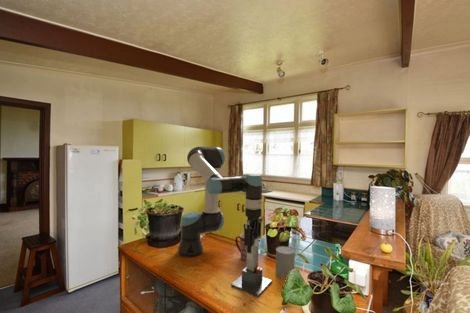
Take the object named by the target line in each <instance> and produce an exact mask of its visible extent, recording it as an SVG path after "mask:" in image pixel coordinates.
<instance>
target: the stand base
mask: <svg viewBox="0 0 470 313" xmlns="http://www.w3.org/2000/svg"><path fill="white" fill-rule="evenodd" d="M272 283H273V280H272V279H269V278H268V277H264V276H263V268H262V267H259V266H258V267H257V268H256V272H255V273H252V272H249V271H246V267H244V268H243V269H242V270H241V276H239V277H238V278H237V279H236V280H235V281H233V282H232V283H231V284H230V286H231V287H232V288H235V289H237V290H239V291H242V292H244V293H247V294H249V295H251V296H254V297H257V298H259V297H260V296H261V295H262V294H263V293H264V292H265V291H266V289H267V288H268V287H269V286H270V285H271V284H272Z"/></svg>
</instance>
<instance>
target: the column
mask: <svg viewBox="0 0 470 313" xmlns="http://www.w3.org/2000/svg"><path fill="white" fill-rule="evenodd" d="M259 240H261V239H260V236H255V235H253V239H252V241H253V242H252V245H253V260H250V259H247V261H246V266H245V268H246V271H249V272H252V273H255V272H256V268H257V267H259V247H260V246H259V243H260V242H259Z"/></svg>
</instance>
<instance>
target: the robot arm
mask: <svg viewBox="0 0 470 313" xmlns="http://www.w3.org/2000/svg"><path fill="white" fill-rule="evenodd" d="M186 159H187V160H186V161H187V162H188V165H189V166H190V167H191V168H193V169H195V170H196V172H197V173H198V174H199V175H200V176H201V178H202V179H203V180H204V207H203V209H202V212H201V213H200V212H198V211H191V212H187V213H185V214H183V215H182V216H181V219H180V241H179V244H178V245H179V246H178V248H177V254H178V255H179V256H180V257H183V258H193V257H194V258H195V257H197V256H200V255H202V253H203V251H204V246H203V244H202V241H201V234H206V233H211V232H217V231H221V229H222V228H223V226H224V223H225V217H224V214H223V212H222V211H221V209H220V208H219V194H228V193H230V194H231V193H245V209H244V211H245V216H246V217H247V220H246V223H244V224H243V233H244V245H246V246H247V259H250V260H253V245H252V242H253V241H252V239H253V235H255V236H260V239H259V243H260V242H261V238H262V237H261V236H262V222H263V218H261V217H262V205H263V200H262V198H263V197H262V196H263V175H261V174H257V173H250V174H249V173H248V174H246V176H242V175H235V176H225V177H223V175H221V174H220V173H219V172H220V170H222V165H224V164H225V162H226V157H225V152H224V150H223V149H222V148H221V147H219V146H195V147H192V148H191V149H190V150H189V152H188V153H187V158H186Z"/></svg>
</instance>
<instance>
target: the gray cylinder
mask: <svg viewBox="0 0 470 313" xmlns="http://www.w3.org/2000/svg"><path fill="white" fill-rule="evenodd" d="M295 252H296V250H295V249H294V248H292V247H291V246H286V245H281V246H280V245H279V246H277V247H276V248H275V273H274V274H275V275H276V276H277V277H278V276H279V277H278V278H280V277H281V279H284V278H285V280H287V279H286V277H287V275H288V273H289V271H291V270H292V269H294V270H295V260H296V259H295V258H296V256H295V254H296V253H295Z"/></svg>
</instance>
